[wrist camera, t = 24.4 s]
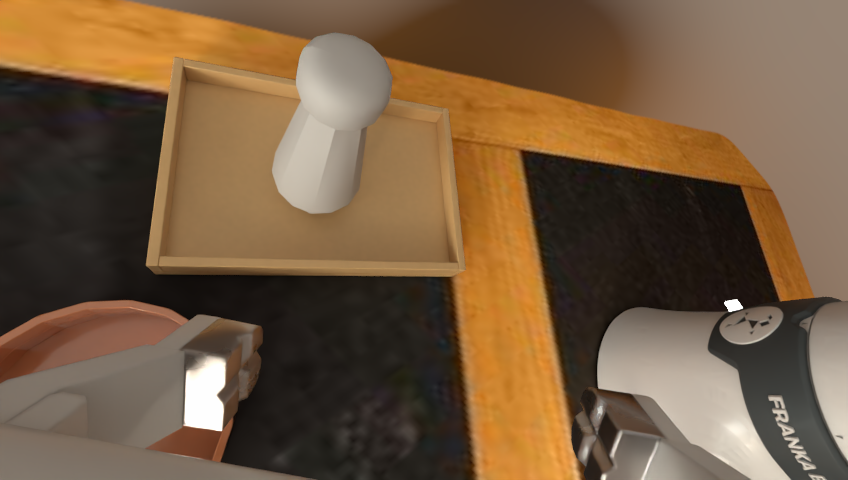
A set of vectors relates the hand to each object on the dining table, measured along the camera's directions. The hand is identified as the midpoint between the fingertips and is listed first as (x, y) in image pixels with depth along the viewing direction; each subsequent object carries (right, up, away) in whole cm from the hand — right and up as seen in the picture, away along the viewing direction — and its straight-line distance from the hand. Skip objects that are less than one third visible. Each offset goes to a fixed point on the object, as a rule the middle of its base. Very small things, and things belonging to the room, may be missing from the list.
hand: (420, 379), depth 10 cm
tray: (-7, +8, +20) cm, 23 cm away
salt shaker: (-8, +7, +19) cm, 22 cm away
